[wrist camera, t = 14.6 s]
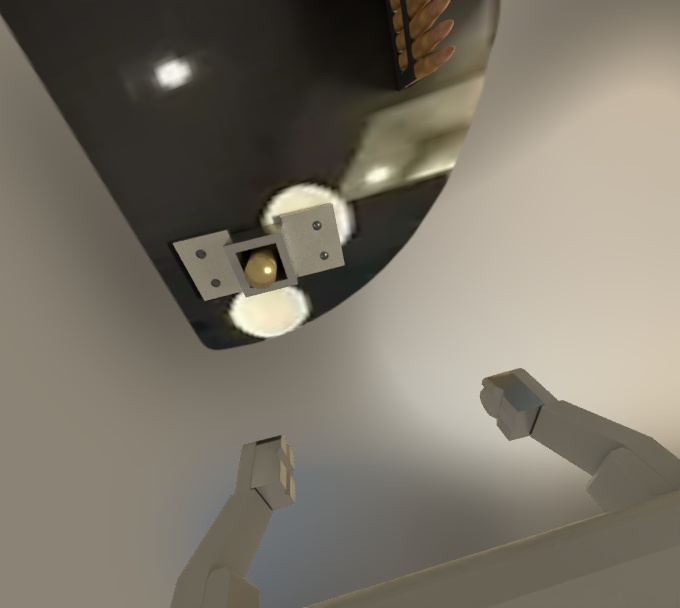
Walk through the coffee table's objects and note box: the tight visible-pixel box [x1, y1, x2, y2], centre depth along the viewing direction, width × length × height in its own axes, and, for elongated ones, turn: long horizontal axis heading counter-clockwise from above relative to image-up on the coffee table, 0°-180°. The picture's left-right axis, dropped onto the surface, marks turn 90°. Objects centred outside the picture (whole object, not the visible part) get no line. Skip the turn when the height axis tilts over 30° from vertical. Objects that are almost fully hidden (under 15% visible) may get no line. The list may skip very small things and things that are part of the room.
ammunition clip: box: [385, 0, 455, 91], centre depth 26 cm, size 11×2×12 cm, turn 18°
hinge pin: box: [244, 244, 278, 289], centre depth 38 cm, size 4×4×9 cm
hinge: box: [173, 203, 345, 301], centre depth 39 cm, size 10×24×6 cm, turn 101°
